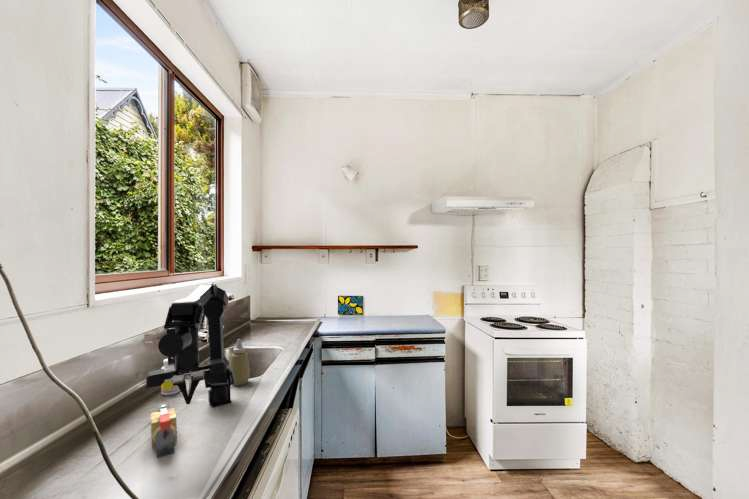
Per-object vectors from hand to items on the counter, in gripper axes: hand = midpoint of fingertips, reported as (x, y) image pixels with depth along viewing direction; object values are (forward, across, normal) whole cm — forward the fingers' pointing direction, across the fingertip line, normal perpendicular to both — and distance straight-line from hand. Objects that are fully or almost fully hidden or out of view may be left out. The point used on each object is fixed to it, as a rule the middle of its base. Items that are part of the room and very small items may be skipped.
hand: (188, 403), depth 94 cm
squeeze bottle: (+12, -23, -42) cm, 49 cm away
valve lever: (+4, +5, -4) cm, 8 cm away
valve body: (+12, +5, -10) cm, 17 cm away
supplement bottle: (+12, +1, -49) cm, 51 cm away
